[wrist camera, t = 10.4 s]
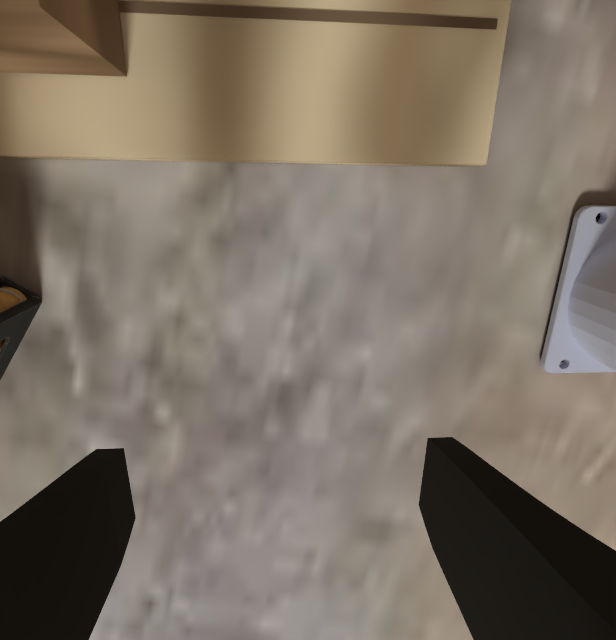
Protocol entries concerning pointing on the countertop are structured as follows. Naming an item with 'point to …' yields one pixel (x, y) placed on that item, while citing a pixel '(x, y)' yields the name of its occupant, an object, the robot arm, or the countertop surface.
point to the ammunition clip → (14, 318)
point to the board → (275, 85)
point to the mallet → (61, 37)
